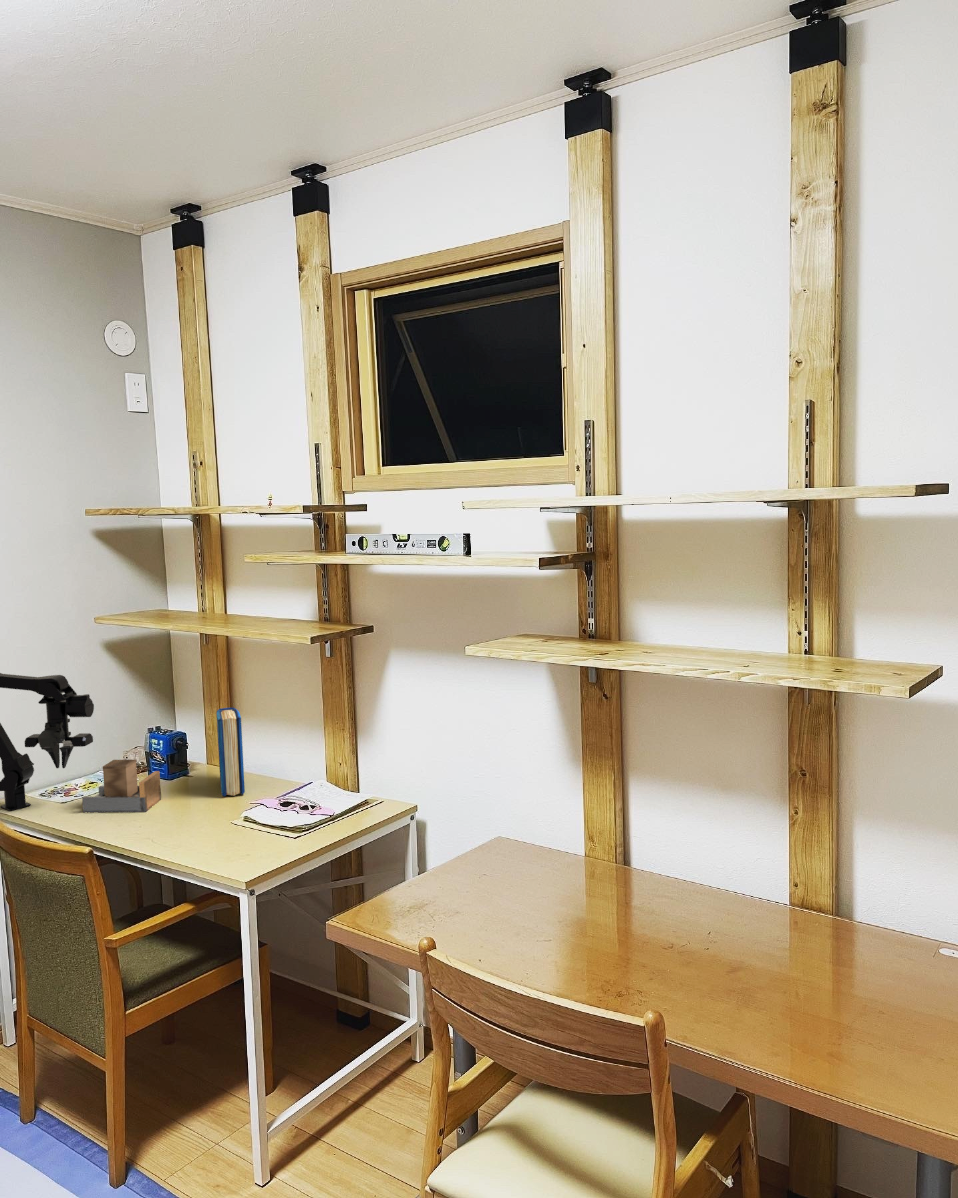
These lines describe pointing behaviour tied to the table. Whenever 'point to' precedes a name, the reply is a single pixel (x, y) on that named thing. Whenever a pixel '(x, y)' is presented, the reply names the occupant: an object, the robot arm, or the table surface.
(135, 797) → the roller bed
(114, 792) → the brown wooden block
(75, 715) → the robot arm
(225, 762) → the book
